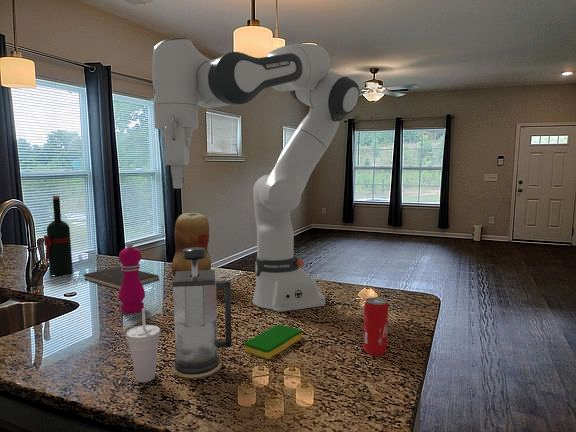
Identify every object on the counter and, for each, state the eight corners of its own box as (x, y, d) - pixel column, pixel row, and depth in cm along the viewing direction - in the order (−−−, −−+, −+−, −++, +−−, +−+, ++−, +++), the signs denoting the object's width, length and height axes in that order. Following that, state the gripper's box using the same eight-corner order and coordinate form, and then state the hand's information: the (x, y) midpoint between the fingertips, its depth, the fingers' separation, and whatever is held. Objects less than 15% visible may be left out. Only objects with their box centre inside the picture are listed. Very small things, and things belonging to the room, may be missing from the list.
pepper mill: (137, 315, 117) (133, 245, 114) (113, 313, 118) (110, 244, 116) (150, 306, 124) (147, 240, 121) (128, 305, 125) (125, 239, 123)
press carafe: (230, 352, 94) (229, 267, 92) (233, 375, 84) (231, 280, 81) (173, 357, 92) (170, 270, 89) (169, 381, 82) (165, 284, 79)
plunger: (210, 311, 90) (209, 246, 88) (210, 321, 84) (209, 252, 82) (181, 312, 89) (179, 247, 87) (179, 323, 83) (177, 253, 81)
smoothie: (165, 369, 86) (163, 304, 85) (157, 385, 80) (154, 315, 78) (134, 369, 86) (131, 304, 84) (123, 386, 80) (119, 315, 78)
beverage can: (370, 344, 98) (371, 295, 97) (390, 350, 95) (392, 300, 94) (359, 352, 94) (360, 301, 93) (380, 359, 91) (381, 306, 90)
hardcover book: (119, 291, 140) (119, 284, 140) (83, 280, 154) (82, 274, 153) (159, 280, 153) (158, 274, 153) (122, 271, 167) (121, 265, 166)
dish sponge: (243, 352, 95) (243, 342, 95) (279, 332, 106) (278, 323, 106) (267, 361, 91) (267, 350, 91) (302, 339, 102) (302, 329, 102)
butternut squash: (192, 291, 139) (190, 216, 136) (164, 285, 146) (161, 214, 143) (219, 281, 151) (218, 212, 148) (192, 276, 158) (191, 210, 155)
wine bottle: (39, 276, 157) (33, 196, 154) (65, 270, 166) (59, 194, 162) (51, 278, 153) (45, 197, 150) (77, 272, 162) (72, 195, 158)
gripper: (190, 115, 77) (193, 189, 79) (193, 124, 97) (195, 184, 99) (154, 114, 76) (158, 190, 78) (165, 124, 96) (168, 184, 98)
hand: (179, 186), depth 89 cm, fingers open, 8 cm apart
